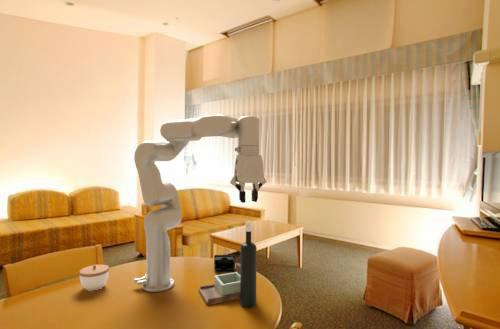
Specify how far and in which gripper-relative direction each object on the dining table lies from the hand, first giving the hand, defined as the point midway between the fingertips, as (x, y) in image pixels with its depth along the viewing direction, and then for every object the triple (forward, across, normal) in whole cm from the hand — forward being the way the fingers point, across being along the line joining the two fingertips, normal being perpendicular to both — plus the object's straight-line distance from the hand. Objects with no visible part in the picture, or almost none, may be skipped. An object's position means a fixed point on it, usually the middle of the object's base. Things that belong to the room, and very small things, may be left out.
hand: (248, 201), depth 105 cm
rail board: (+37, -6, +11) cm, 39 cm away
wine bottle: (+37, 0, 0) cm, 37 cm away
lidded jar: (+37, -52, +37) cm, 74 cm away
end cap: (+38, +3, +35) cm, 51 cm away
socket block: (+36, -3, +11) cm, 38 cm away
